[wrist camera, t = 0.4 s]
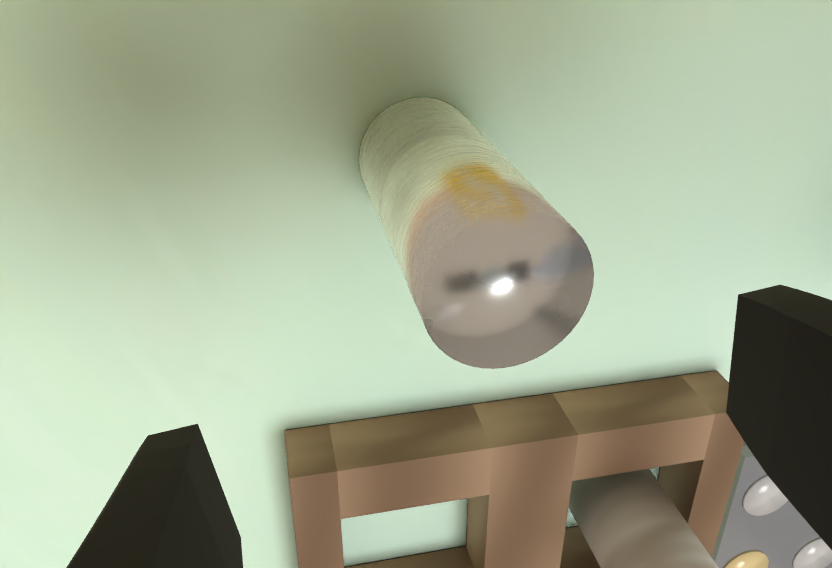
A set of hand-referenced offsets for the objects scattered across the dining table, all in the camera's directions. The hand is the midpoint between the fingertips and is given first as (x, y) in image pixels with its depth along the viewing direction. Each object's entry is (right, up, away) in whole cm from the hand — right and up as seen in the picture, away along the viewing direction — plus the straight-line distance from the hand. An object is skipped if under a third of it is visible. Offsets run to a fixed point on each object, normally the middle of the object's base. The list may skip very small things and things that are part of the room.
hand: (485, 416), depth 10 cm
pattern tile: (+13, -7, +19) cm, 24 cm away
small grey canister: (-1, +5, +9) cm, 10 cm away
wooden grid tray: (+2, -8, +17) cm, 19 cm away
